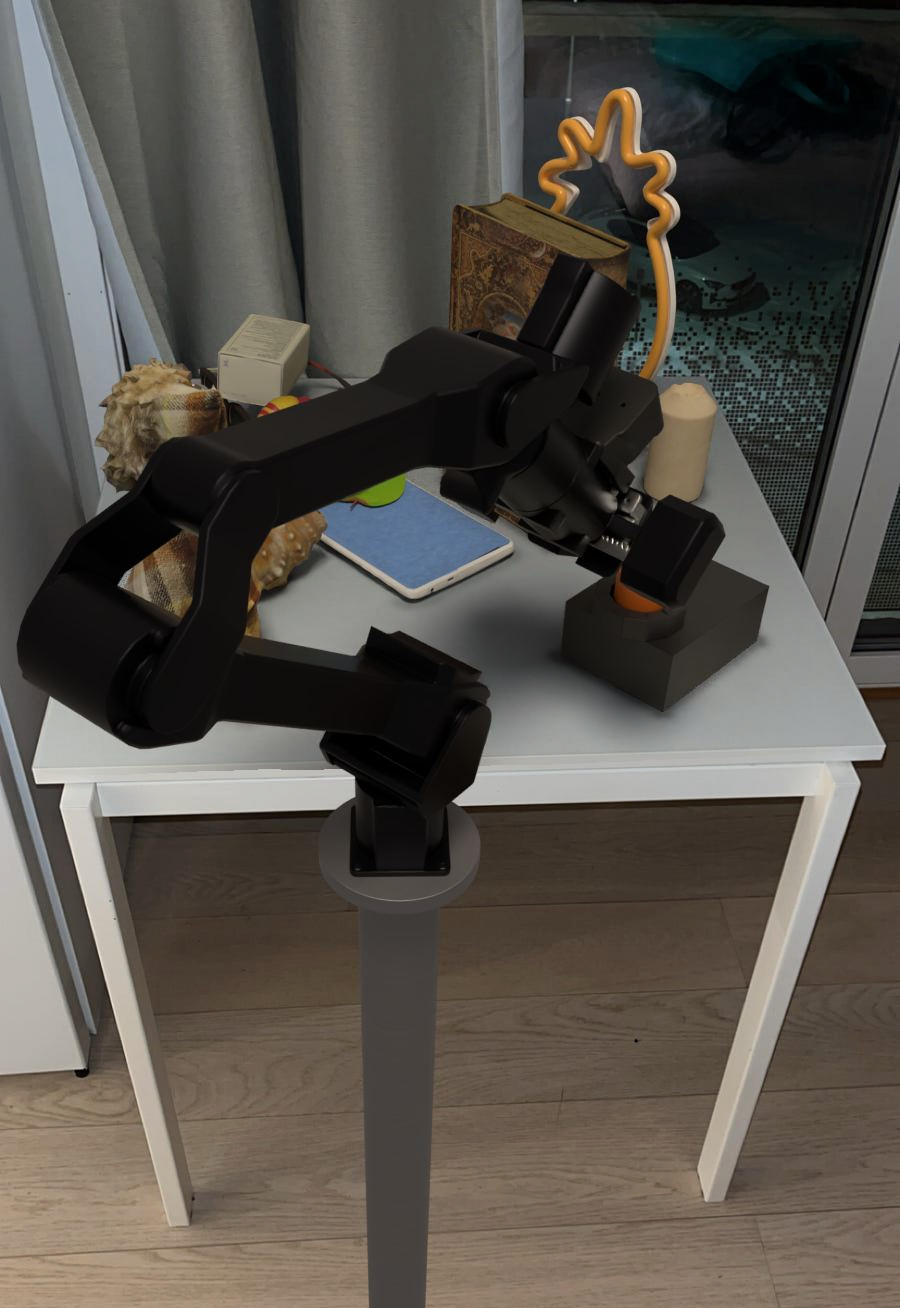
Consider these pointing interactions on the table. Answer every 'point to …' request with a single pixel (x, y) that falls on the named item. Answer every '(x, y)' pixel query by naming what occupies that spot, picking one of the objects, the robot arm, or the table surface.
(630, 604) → the power button
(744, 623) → the button base
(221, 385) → the cosmetic box
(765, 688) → the table surface
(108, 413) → the brown cream tall piece
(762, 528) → the table surface
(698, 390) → the candle
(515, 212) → the book
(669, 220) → the lamp
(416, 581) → the tablet
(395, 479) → the decorative leaf
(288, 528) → the seashell
